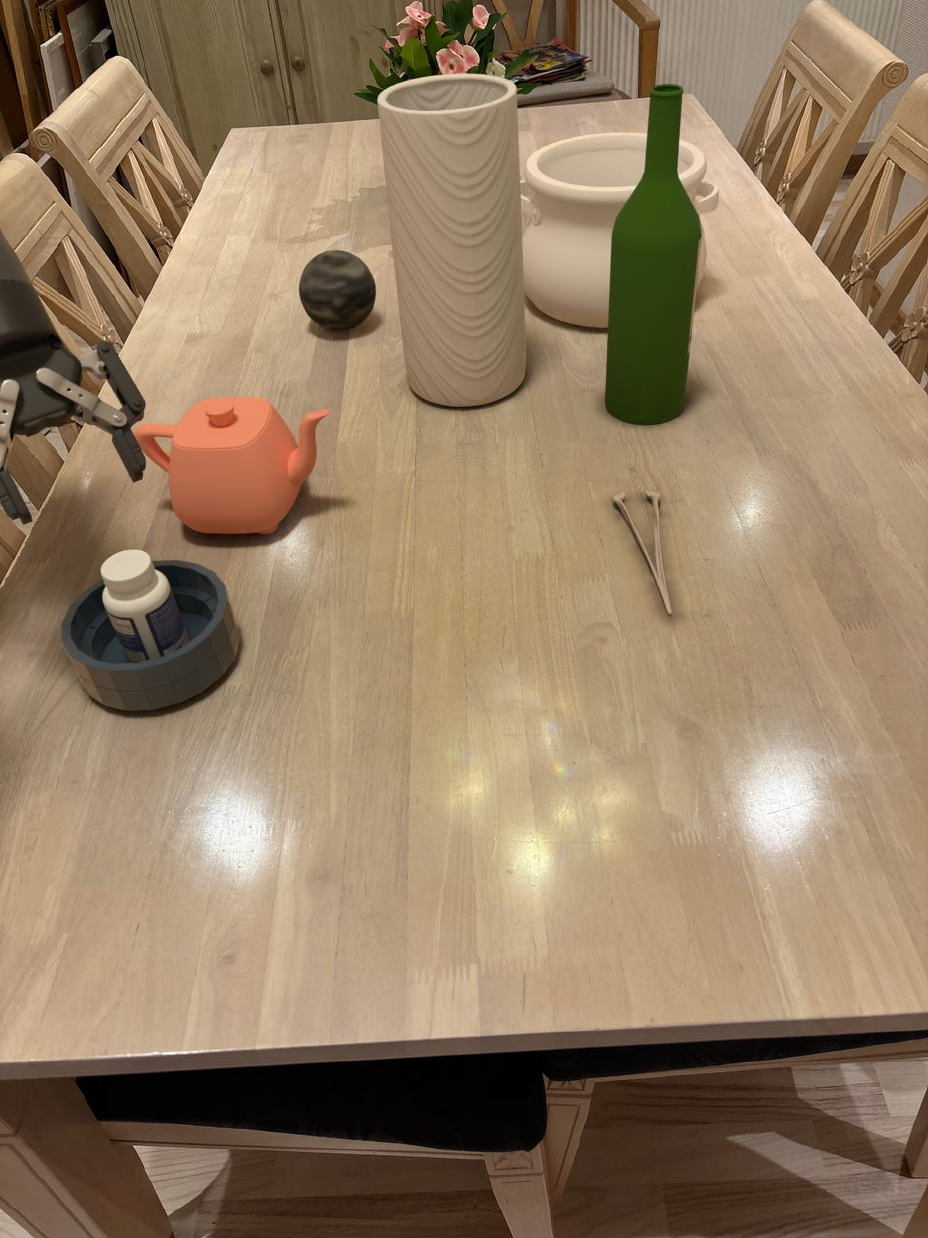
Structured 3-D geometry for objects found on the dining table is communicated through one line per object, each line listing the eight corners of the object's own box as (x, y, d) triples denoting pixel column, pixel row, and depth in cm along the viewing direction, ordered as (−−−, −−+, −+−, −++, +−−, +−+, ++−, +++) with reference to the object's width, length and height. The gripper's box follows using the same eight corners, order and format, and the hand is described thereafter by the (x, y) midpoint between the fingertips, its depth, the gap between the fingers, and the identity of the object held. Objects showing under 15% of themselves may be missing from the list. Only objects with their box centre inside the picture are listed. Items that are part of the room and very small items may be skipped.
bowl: (115, 743, 77) (93, 696, 74) (62, 650, 86) (39, 604, 82) (268, 667, 83) (254, 619, 79) (203, 586, 91) (188, 540, 87)
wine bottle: (697, 416, 107) (734, 93, 86) (621, 431, 106) (638, 107, 84) (665, 379, 114) (692, 69, 92) (593, 392, 113) (602, 82, 91)
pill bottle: (187, 623, 86) (156, 536, 80) (193, 663, 82) (162, 575, 76) (125, 639, 85) (89, 553, 79) (129, 680, 81) (92, 593, 75)
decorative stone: (383, 339, 126) (373, 263, 119) (306, 348, 126) (292, 273, 119) (377, 306, 134) (368, 233, 127) (305, 315, 133) (291, 242, 126)
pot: (497, 332, 125) (491, 192, 114) (530, 256, 143) (528, 128, 131) (703, 341, 120) (719, 196, 108) (712, 261, 137) (726, 128, 125)
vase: (521, 412, 111) (513, 110, 89) (398, 411, 112) (361, 115, 91) (530, 352, 121) (524, 69, 100) (417, 352, 123) (388, 74, 102)
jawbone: (610, 500, 97) (611, 484, 96) (657, 497, 97) (659, 481, 96) (641, 627, 85) (643, 611, 83) (695, 623, 85) (698, 607, 83)
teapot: (335, 550, 94) (314, 443, 86) (138, 548, 96) (99, 443, 88) (359, 472, 104) (342, 369, 95) (179, 472, 106) (148, 371, 98)
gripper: (-128, 309, 66) (-17, 523, 66) (77, 251, 71) (178, 449, 72) (-108, 354, 73) (-7, 548, 73) (77, 298, 78) (170, 478, 79)
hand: (84, 499), depth 72 cm, fingers open, 8 cm apart
